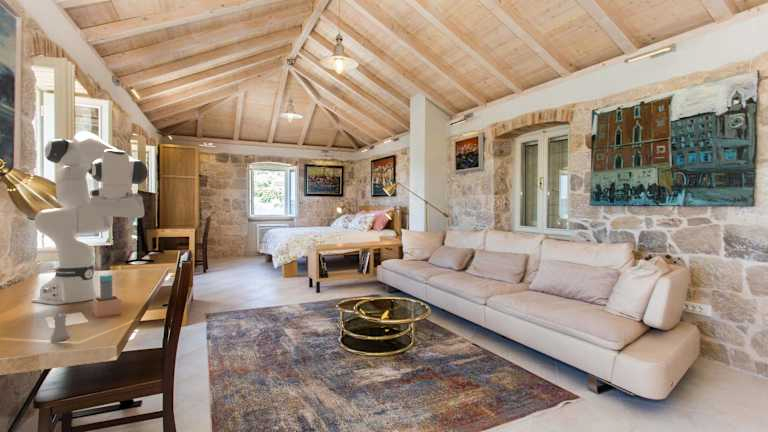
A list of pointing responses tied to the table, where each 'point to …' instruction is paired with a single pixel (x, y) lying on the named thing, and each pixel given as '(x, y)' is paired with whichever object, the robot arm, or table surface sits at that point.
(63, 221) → the robot arm
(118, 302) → the pen cup
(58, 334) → the rook chess piece
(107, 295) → the marker
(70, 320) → the drawing board
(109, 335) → the table surface
